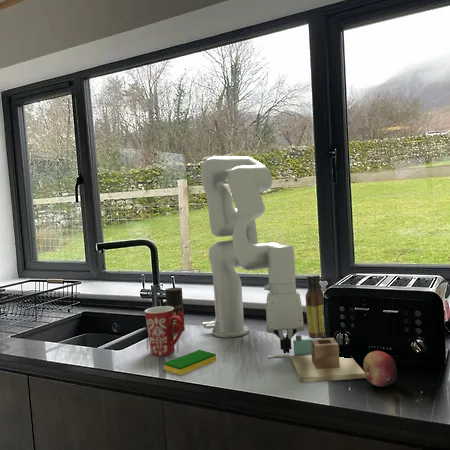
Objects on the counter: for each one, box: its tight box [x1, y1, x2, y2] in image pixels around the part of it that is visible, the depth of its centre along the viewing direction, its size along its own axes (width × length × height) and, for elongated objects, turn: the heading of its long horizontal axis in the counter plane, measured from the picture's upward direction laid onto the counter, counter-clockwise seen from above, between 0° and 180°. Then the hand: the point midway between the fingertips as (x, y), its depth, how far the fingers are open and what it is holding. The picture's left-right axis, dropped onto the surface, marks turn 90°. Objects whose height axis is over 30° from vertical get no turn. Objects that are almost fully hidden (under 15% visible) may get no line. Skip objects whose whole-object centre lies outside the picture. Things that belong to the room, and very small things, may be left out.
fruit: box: [362, 350, 398, 388], centre depth 115 cm, size 8×8×8 cm
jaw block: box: [310, 337, 340, 369], centre depth 128 cm, size 6×6×6 cm
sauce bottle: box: [304, 273, 326, 338], centre depth 157 cm, size 7×6×20 cm
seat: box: [267, 353, 367, 383], centre depth 130 cm, size 22×21×4 cm
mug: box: [144, 305, 183, 357], centre depth 149 cm, size 13×9×14 cm
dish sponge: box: [163, 349, 217, 375], centre depth 137 cm, size 7×14×2 cm, turn 136°
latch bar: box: [293, 334, 323, 354], centre depth 139 cm, size 8×2×5 cm, turn 91°
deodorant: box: [165, 287, 185, 334], centre depth 174 cm, size 6×6×15 cm
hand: (286, 351), depth 139 cm, fingers closed
